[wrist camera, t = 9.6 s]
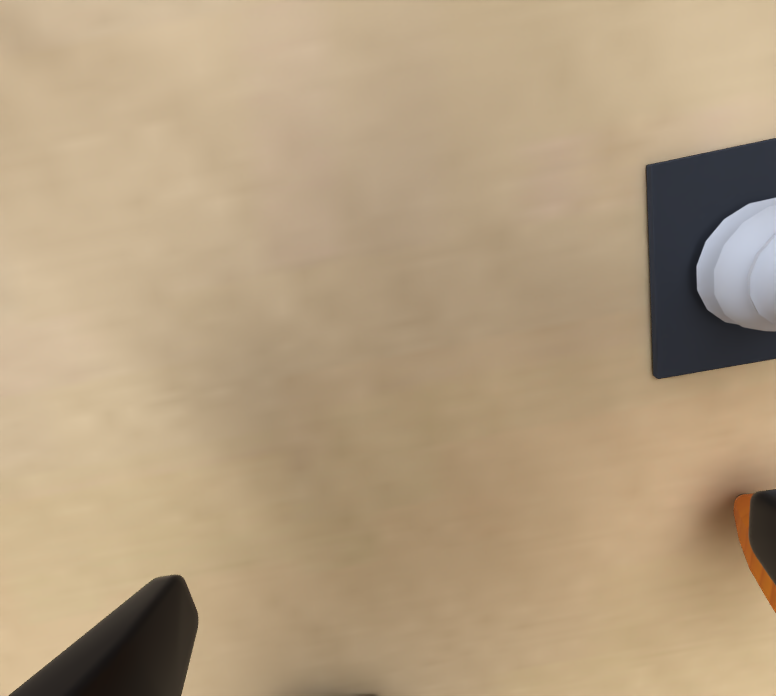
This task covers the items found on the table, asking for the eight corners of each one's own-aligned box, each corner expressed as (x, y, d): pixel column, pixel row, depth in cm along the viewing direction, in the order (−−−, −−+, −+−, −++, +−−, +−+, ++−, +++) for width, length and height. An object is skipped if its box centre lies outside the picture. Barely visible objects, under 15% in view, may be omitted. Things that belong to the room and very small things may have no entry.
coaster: (838, 343, 19) (847, 346, 18) (652, 375, 19) (657, 379, 19) (859, 120, 16) (871, 118, 16) (645, 165, 17) (651, 164, 16)
